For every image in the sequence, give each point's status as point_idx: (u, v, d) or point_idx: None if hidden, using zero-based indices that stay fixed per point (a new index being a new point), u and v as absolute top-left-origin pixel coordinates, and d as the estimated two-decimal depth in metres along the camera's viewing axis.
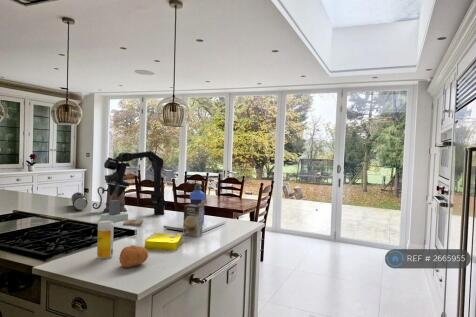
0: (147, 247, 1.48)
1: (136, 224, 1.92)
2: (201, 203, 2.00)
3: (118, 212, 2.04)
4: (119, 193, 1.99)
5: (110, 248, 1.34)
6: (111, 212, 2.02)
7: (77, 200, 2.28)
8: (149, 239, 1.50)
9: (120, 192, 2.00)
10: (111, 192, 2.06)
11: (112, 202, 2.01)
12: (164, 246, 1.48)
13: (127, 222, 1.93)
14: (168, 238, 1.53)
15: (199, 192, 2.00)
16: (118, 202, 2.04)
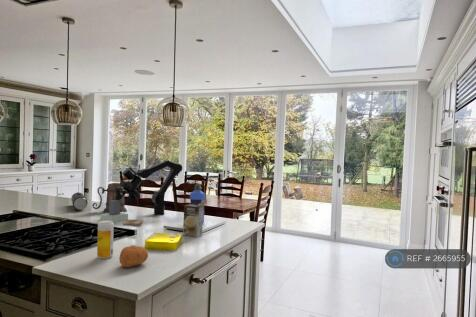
0: (147, 247, 1.48)
1: (136, 224, 1.92)
2: (201, 203, 2.00)
3: (118, 212, 2.04)
4: (127, 200, 2.06)
5: (110, 248, 1.34)
6: (111, 212, 2.02)
7: (77, 200, 2.28)
8: (149, 239, 1.50)
9: (128, 200, 2.06)
10: None
11: (112, 202, 2.01)
12: (164, 246, 1.48)
13: (127, 222, 1.93)
14: (168, 238, 1.53)
15: (199, 192, 2.00)
16: (118, 202, 2.04)
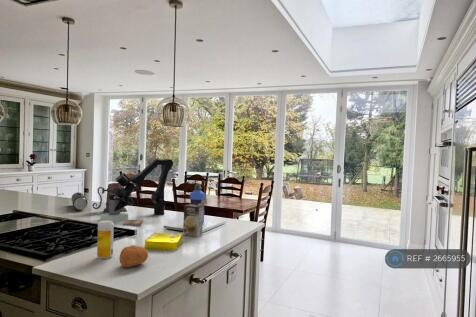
0: (147, 247, 1.48)
1: (136, 224, 1.92)
2: (201, 203, 2.00)
3: (118, 212, 2.04)
4: (118, 207, 2.03)
5: (110, 248, 1.34)
6: (111, 212, 2.02)
7: (77, 200, 2.28)
8: (149, 239, 1.50)
9: (119, 207, 2.03)
10: None
11: (112, 202, 2.01)
12: (164, 246, 1.48)
13: (127, 222, 1.93)
14: (168, 238, 1.53)
15: (199, 192, 2.00)
16: (118, 202, 2.04)
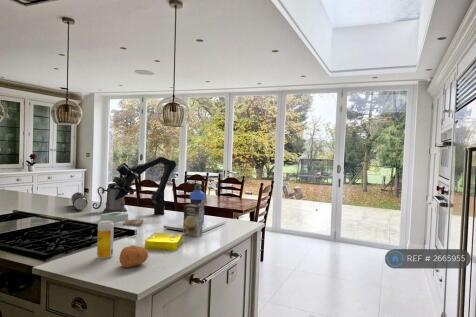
0: (147, 247, 1.48)
1: (136, 224, 1.92)
2: (201, 203, 2.00)
3: (119, 201, 2.04)
4: (118, 196, 2.02)
5: (110, 248, 1.34)
6: (112, 201, 2.01)
7: (77, 200, 2.28)
8: (149, 239, 1.50)
9: (120, 196, 2.03)
10: None
11: (113, 191, 2.01)
12: (164, 246, 1.48)
13: (127, 222, 1.93)
14: (168, 238, 1.53)
15: (199, 192, 2.00)
16: (119, 191, 2.04)
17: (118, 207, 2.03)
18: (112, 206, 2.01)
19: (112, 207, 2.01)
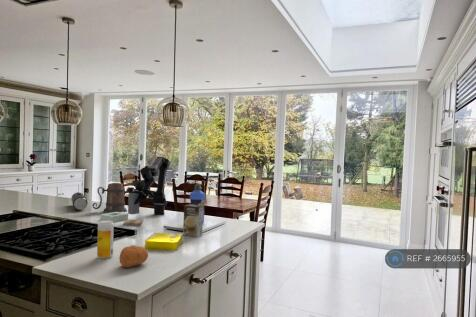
0: (147, 247, 1.48)
1: (136, 224, 1.92)
2: (201, 203, 2.00)
3: (137, 205, 1.96)
4: (137, 201, 1.95)
5: (110, 248, 1.34)
6: (130, 205, 1.94)
7: (77, 200, 2.28)
8: (149, 239, 1.50)
9: (139, 200, 1.95)
10: None
11: (131, 195, 1.93)
12: (164, 246, 1.48)
13: (127, 222, 1.93)
14: (168, 238, 1.53)
15: (199, 192, 2.00)
16: (137, 195, 1.96)
17: (136, 211, 1.96)
18: (131, 211, 1.94)
19: (131, 212, 1.94)
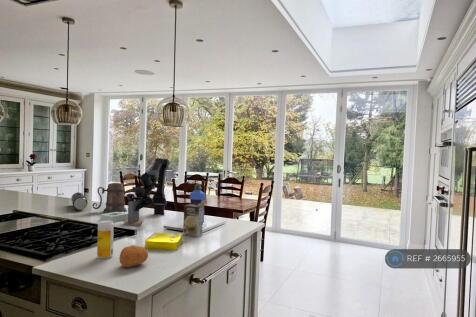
0: (147, 247, 1.48)
1: (136, 224, 1.92)
2: (201, 203, 2.00)
3: (137, 214, 1.96)
4: (138, 207, 1.94)
5: (110, 248, 1.34)
6: (130, 214, 1.94)
7: (77, 200, 2.28)
8: (149, 239, 1.50)
9: (139, 207, 1.95)
10: None
11: (131, 203, 1.93)
12: (164, 246, 1.48)
13: (127, 222, 1.93)
14: (168, 238, 1.53)
15: (199, 192, 2.00)
16: (137, 203, 1.96)
17: (136, 220, 1.96)
18: (130, 219, 1.94)
19: (130, 220, 1.94)
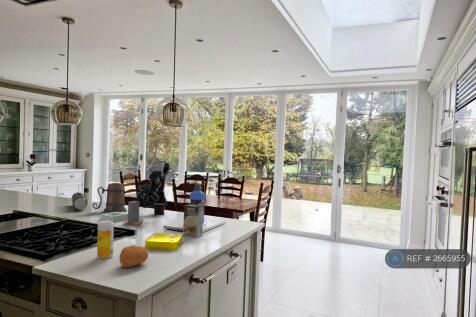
0: (147, 247, 1.48)
1: (136, 224, 1.92)
2: (201, 203, 2.00)
3: (137, 214, 1.96)
4: (146, 204, 2.02)
5: (110, 248, 1.34)
6: (130, 214, 1.94)
7: (77, 200, 2.28)
8: (149, 239, 1.51)
9: (147, 203, 2.02)
10: None
11: (131, 203, 1.93)
12: (164, 246, 1.48)
13: (127, 222, 1.93)
14: (168, 238, 1.53)
15: (199, 192, 2.00)
16: (137, 203, 1.96)
17: (136, 220, 1.96)
18: (130, 219, 1.94)
19: (130, 220, 1.94)
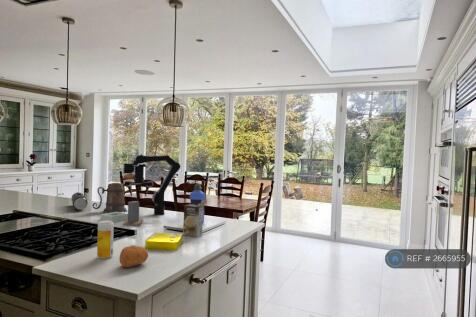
0: (147, 247, 1.48)
1: (136, 224, 1.92)
2: (201, 203, 2.00)
3: (137, 214, 1.96)
4: None
5: (110, 248, 1.34)
6: (130, 214, 1.94)
7: (77, 200, 2.28)
8: (149, 239, 1.51)
9: None
10: (145, 193, 2.23)
11: (131, 203, 1.93)
12: (164, 246, 1.48)
13: (127, 222, 1.93)
14: (168, 238, 1.53)
15: (199, 192, 2.00)
16: (137, 203, 1.96)
17: (136, 220, 1.96)
18: (130, 219, 1.94)
19: (130, 220, 1.94)
